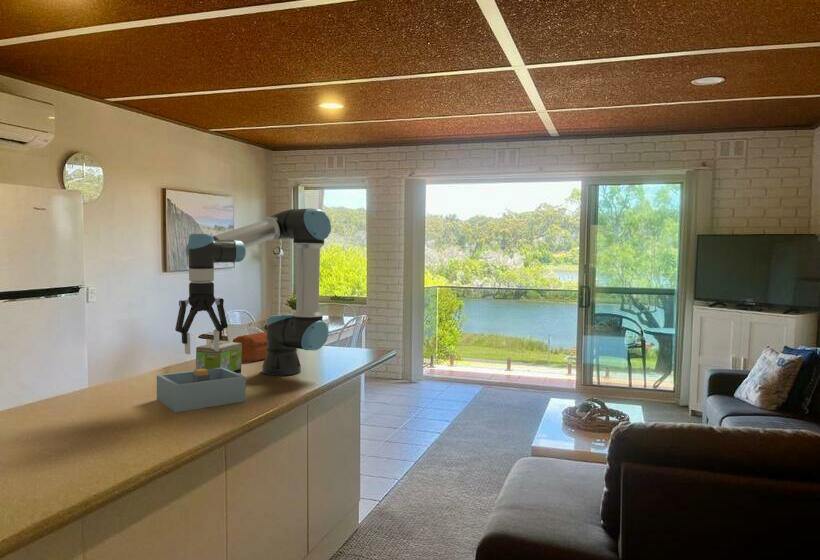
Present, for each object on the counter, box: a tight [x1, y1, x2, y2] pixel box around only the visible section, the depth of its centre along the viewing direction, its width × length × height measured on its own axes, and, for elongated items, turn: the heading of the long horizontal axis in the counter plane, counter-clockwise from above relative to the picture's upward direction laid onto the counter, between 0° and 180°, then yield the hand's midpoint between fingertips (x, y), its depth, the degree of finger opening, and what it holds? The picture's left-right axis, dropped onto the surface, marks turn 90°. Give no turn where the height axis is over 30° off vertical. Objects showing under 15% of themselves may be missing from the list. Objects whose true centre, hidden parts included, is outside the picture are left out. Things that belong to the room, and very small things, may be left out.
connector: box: [193, 368, 210, 383], centre depth 190 cm, size 4×4×10 cm
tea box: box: [195, 340, 242, 375], centre depth 212 cm, size 15×10×15 cm, turn 167°
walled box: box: [156, 367, 247, 413], centre depth 190 cm, size 22×18×8 cm
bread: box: [232, 331, 267, 363], centre depth 269 cm, size 16×27×11 cm, turn 152°
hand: (202, 351), depth 190 cm, fingers open, 9 cm apart
